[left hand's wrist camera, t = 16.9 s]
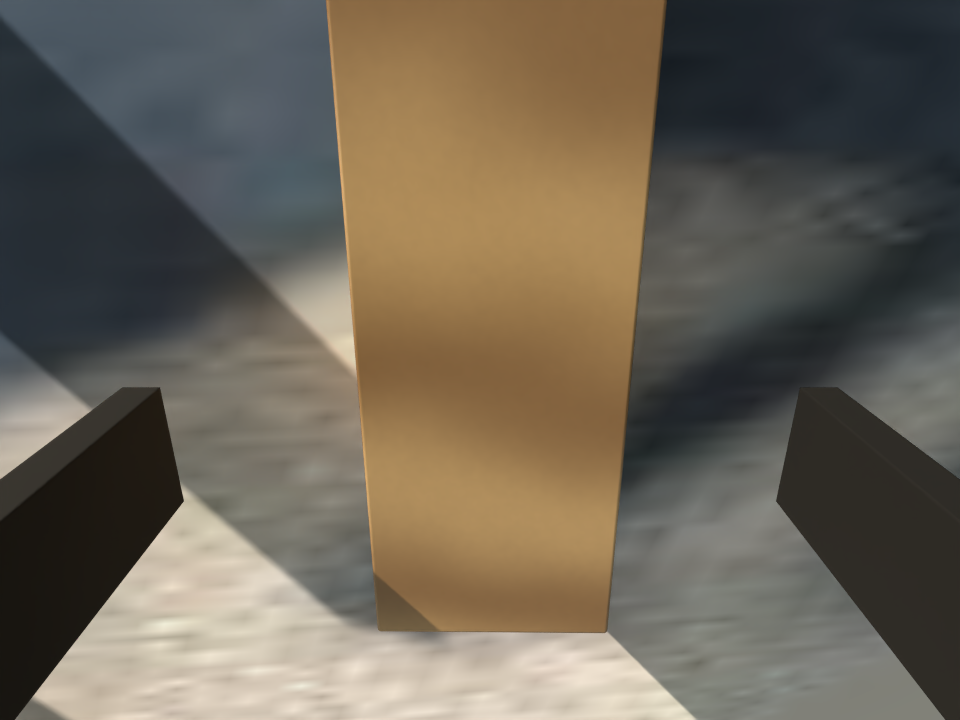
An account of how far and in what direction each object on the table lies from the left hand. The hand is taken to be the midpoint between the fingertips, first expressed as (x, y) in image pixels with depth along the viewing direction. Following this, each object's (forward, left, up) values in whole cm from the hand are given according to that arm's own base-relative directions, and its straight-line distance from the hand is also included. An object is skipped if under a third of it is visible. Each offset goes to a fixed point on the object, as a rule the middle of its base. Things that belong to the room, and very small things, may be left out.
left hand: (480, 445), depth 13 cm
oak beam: (0, +13, -9) cm, 16 cm away
